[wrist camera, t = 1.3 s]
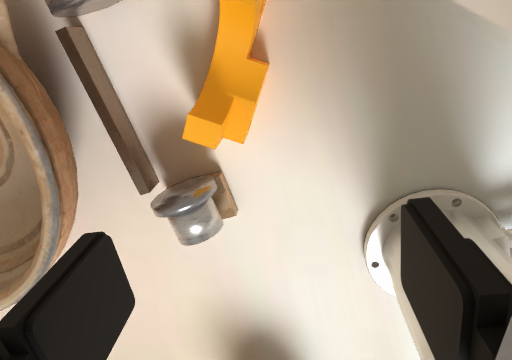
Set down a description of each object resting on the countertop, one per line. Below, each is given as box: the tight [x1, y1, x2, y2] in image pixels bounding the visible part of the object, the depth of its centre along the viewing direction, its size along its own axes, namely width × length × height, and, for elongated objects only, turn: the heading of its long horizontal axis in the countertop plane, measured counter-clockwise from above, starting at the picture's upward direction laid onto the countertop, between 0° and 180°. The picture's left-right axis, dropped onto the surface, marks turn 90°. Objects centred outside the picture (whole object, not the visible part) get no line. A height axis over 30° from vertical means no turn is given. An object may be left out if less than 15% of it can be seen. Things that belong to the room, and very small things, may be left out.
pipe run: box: [45, 0, 238, 245], centre depth 28 cm, size 8×26×6 cm, turn 20°
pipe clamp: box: [182, 0, 269, 149], centre depth 26 cm, size 12×4×6 cm, turn 163°
